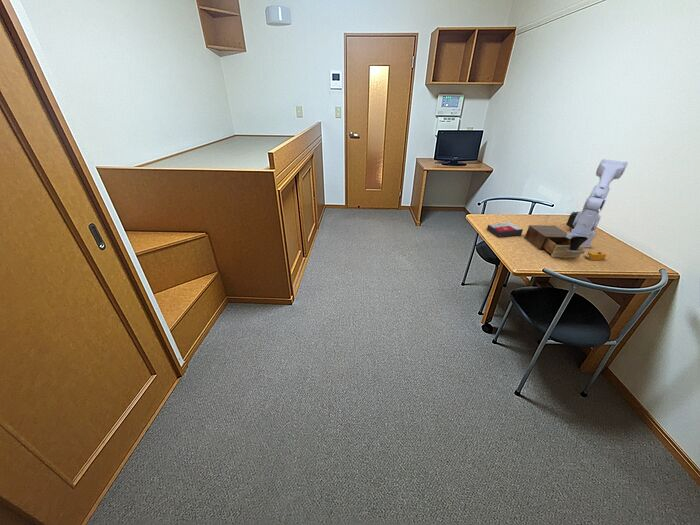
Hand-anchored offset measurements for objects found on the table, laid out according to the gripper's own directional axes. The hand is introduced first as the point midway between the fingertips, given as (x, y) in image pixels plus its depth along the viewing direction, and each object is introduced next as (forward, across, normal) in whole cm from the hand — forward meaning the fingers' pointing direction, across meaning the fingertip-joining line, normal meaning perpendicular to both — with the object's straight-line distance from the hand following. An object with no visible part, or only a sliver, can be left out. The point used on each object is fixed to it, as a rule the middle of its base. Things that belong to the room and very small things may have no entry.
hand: (572, 250), depth 139 cm
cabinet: (+6, -5, -17) cm, 19 cm away
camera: (+6, -41, -26) cm, 49 cm away
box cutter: (+6, -14, +2) cm, 16 cm away
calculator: (+6, +6, -35) cm, 36 cm away
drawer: (+5, -2, -6) cm, 8 cm away
